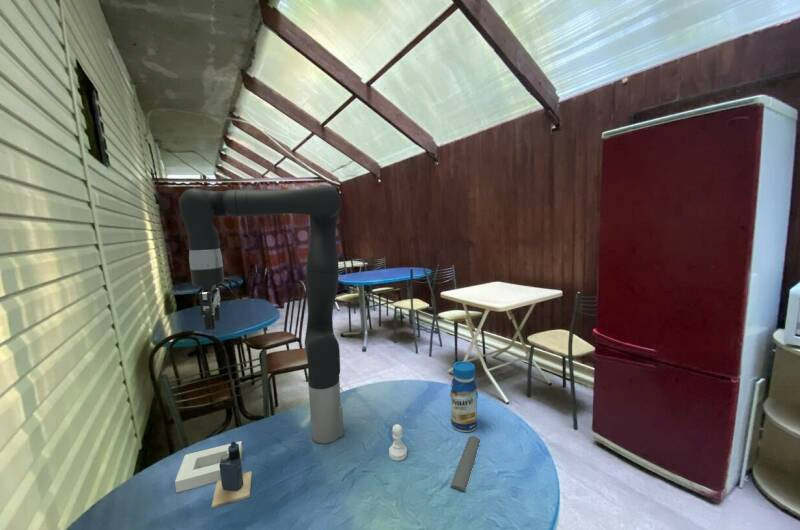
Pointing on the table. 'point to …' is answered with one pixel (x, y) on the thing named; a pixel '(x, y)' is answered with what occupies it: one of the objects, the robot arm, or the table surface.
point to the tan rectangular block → (232, 492)
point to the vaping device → (231, 469)
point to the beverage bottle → (464, 397)
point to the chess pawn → (397, 445)
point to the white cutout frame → (197, 477)
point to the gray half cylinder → (466, 464)
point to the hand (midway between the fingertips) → (213, 324)
